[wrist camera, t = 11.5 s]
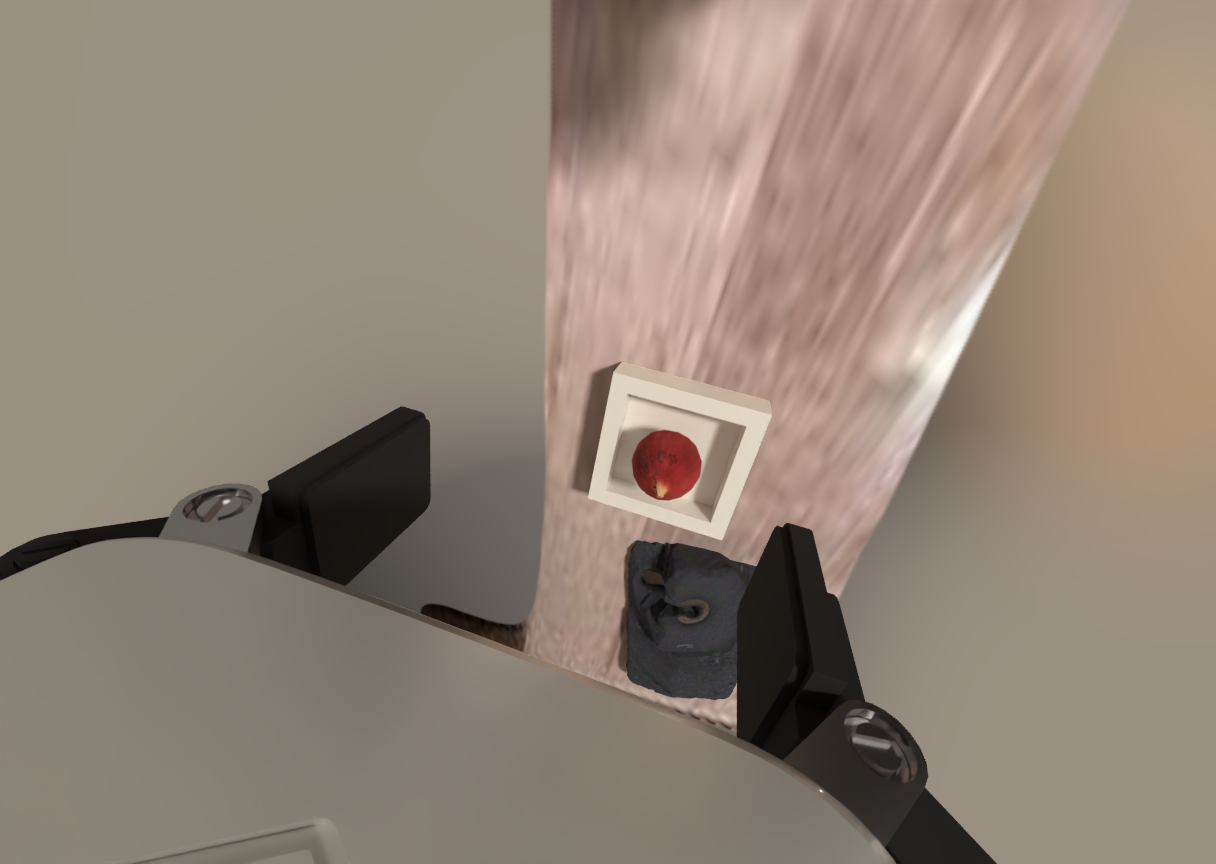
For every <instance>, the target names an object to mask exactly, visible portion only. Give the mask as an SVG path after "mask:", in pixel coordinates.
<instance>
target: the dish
mask: <svg viewBox="0 0 1216 864" xmlns="http://www.w3.org/2000/svg"><path fill="white" fill-rule="evenodd" d="M771 416H772V412H771V406H770V401H769V400H766V399H762V398H758V397H754V396H751V395H747V394H743V393H739V392H736V391H732V390H728V389H724V388H721V387H717V386H713V385H709V384H706V383H702V382H698V381H694V380H690V379H687V378H683V377H679V376H675V375H672V374H668V373H664V372H660V371H657V370H653V369H649V368H645V367H641V366H638V365H634V364H630V363H626V362H623V361H622V362H621V363H620V365H619V366H618V367H617V368H616V370H615V371H614V372H613V377H612V381H611V386H610V391H609V396H608V401H607V406H606V411H605V416H604V421H603V426H602V431H601V436H600V441H599V446H598V451H597V456H596V461H595V466H594V471H593V476H592V481H591V486H590V491H589V496H588V498H589V499H592V500H595V501H598V502H601V503H604V504H608V505H611V506H614V507H617V508H620V509H624V510H627V511H630V512H633V513H636V514H639V515H643V516H646V517H649V518H652V519H655V520H658V521H662V522H665V523H668V524H671V525H674V526H678V527H681V528H684V529H687V530H690V531H693V532H697V533H700V534H703V535H706V536H709V537H712V538H716V539H719V540H722V539H723V537H724V534H725V532H726V529H727V527H728V524H729V522H730V519H731V517H732V514H733V512H734V509H735V507H736V504H737V502H738V499H739V497H740V494H741V492H742V489H743V487H744V484H745V482H746V479H747V477H748V474H749V472H750V469H751V467H752V464H753V462H754V459H755V457H756V454H757V452H758V449H759V447H760V444H761V442H762V439H763V436H764V434H765V431H766V429H767V426H768V424H769V421H770V419H771ZM661 430H669V431H675V432H679V433H681V434H682V435H684V436H686V437H688V438H689V439H690V440H691V441H692V442H693V443H694V444H695V445H696V447H697V449H698V452H699V455H700V458H701V460H702V465H701V474H700V477H699V479H698V481H697V482H696V484H695V485H694V487H693V489H692V490H691V491H689V492H688V493H686V494H685V495H683V496H682V497H681V498H677V499H673V500H669V501H667V500H657V499H655V498H653V497H651V496H649V495H647V494H646V493H645V492H644V491H642V490H641V489H640V488H639V486H638V484H637V482H636V480H635V478H634V476H633V469H632V457H633V454H634V452H635V449H636V447H637V445H638V443H639V442H640V441H641V440H642V439H643V438H645V437H646V436H647V435H649V434H650V433H651V432H656V431H661Z"/></svg>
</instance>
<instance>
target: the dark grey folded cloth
mask: <svg viewBox="0 0 1216 864" xmlns="http://www.w3.org/2000/svg"><path fill="white" fill-rule="evenodd" d="M664 548H665V550H664ZM756 567H757V566H753V565H749V564H745V563H740V562H736V561H732V560H729V559H728V558H727V557H725V556H723V555H722V554H720V553H718V552H715V551H710V550H707V549H703V548H697V547H693V546H688V545H684V544H679V543H676V544H674V545H670V544H668V543H667V544H666V545H665V546H664V545H663V544H660V543H657V542H655V544H650V543H647V542H645V543H643V542H641V541H639V542H637V544H636V545H635V546H634V547H633V548H632V550H631V558H630V560H629V579H628V583H629V587H628V588H629V603H630V605H629V609H630V611H629V612H628V614H627V617H628V621H627V634H628V641H627V643H628V660H627V664H626V667H627V671H628V673H627V676H628V678H629V679H630V681H631V682H633V683H635V684H637V685H641V686H643V687H645V688H647V689H653V690H654V691H655V692H657V693H660V694H663V695H665V696H669V697H680V698H695V697H696V698H706V699H712V700H717V699H725V698H728V697H729V696H730V695H731V693H732V692H733V689H734V687H735V686H736V683H737V612H738V607H739V604H740V601H741V599H742V597H743V595H744V593H745V590H746V588H747V586H748V584H749V582H750V580H751V577H752V575H753V573H754V571H755V569H756ZM646 570H651V571H653V572H658V573H661V576H662V578H661V582H662V584H663V585H656V584H648V583H646V582H645V581H644V579H643V578H642V574H643V573H644V571H646Z"/></svg>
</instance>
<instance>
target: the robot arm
mask: <svg viewBox="0 0 1216 864" xmlns="http://www.w3.org/2000/svg"><path fill="white" fill-rule="evenodd" d="M268 486H269V490H268V491H267V492H265V493H263V494H261V493H260V491H259V490H258V489H257V488H254V487H252V486H250V485H243V484H223V485H218V486H212V487H209V488H205V489H202V490H199V491H197V492H195V493H192V494H190V495H188V496H187V497H185V498H184V499H182V500H181V501H180V502H178V504H177V505H176V506H175V507H174V509H173V510H172V512H171V514H170V516H169V517H164V518H157V519H150V520H144V521H137V522H130V523H124V524H116V525H110V526H103V527H96V528H89V529H83V530H76V531H69V532H63V533H58V534H52V535H47V536H43V537H39V538H36V539H33V540H31V541H29V542H27V543H25V544H23V545H21V546H19V547H16V548H14V549H12V550H10V551H9V552H7V553H6V554H4V555H3V556H1V557H0V864H996V862H995V861H994V860H993V859H992V858H991V857H990V856H989V855H988V854H987V853H986V852H985V851H984V850H983V849H982V848H981V847H980V846H979V845H978V843H976V841H975V840H974V839H973V838H972V837H971V836H970V835H969V834H968V833H967V832H966V831H965V830H964V829H963V827H962V826H961V825H960V824H959V823H958V822H957V821H956V820H955V819H954V818H953V817H952V816H951V815H950V814H949V813H948V812H947V811H946V809H945V808H944V807H943V806H942V805H941V804H940V803H939V802H938V801H937V800H936V799H935V798H934V797H933V796H932V795H931V794H930V793H929V791H928V790H927V789H926V788H925V785H926V782H927V779H928V771H927V764H926V761H925V758H924V756H923V753H922V751H921V749H920V747H919V746H918V744H917V743H916V741H915V740H914V738H913V737H912V735H911V734H910V733H909V732H908V730H907V729H905V727H904V726H903V725H902V724H901V723H900V722H899V721H898V720H897V719H895V718H894V717H893V716H892V715H890V714H889V713H887V712H886V711H885V710H883V709H881V708H880V707H878V706H876V705H874V704H872V703H869V702H865V699H864V695H863V691H862V687H861V684H860V680H859V676H858V673H857V669H856V665H855V661H854V657H853V653H852V650H851V646H850V642H849V638H848V634H847V631H846V627H845V623H844V619H843V615H842V612H841V608H840V604H839V601H838V599H837V597H836V596H835V595H833V594H830V593H827V590H826V586H825V582H824V578H823V573H822V569H821V565H820V561H819V557H818V552H817V548H816V544H815V540H814V536H813V532H812V530H810V529H807V528H803V527H800V526H797V525H793V524H790V523H786V524H785V525H784V526H783V527H779V526H776V527H775V528H774V530H773V532H772V534H771V537H770V539H769V541H768V543H767V545H766V547H765V549H764V552H763V554H762V556H761V558H760V560H759V562H758V565H757V567H756V569H755V571H754V573H753V575H752V577H751V580H750V582H749V584H748V586H747V588H746V590H745V593H744V595H743V597H742V599H741V601H740V604H739V607H738V612H737V737H735V736H733V735H731V734H729V733H727V732H724V731H722V730H720V729H718V728H715V727H713V726H711V725H708V724H706V723H703V722H701V721H698V720H696V719H693V718H691V717H688V716H686V715H683V714H681V713H678V712H676V711H673V710H671V709H668V708H666V707H663V706H661V705H658V704H656V703H653V702H651V701H648V700H646V699H643V698H641V697H638V696H636V695H633V694H631V693H628V692H625V691H623V690H620V689H617V688H615V687H612V686H610V685H607V684H604V683H602V682H599V681H596V680H594V679H591V678H589V677H586V676H583V675H581V674H578V673H575V672H573V671H570V670H568V669H565V668H562V667H560V666H557V665H555V664H552V663H549V662H547V661H544V660H541V659H539V658H536V657H534V656H531V655H528V654H526V653H523V652H520V651H518V650H515V649H512V648H510V647H507V646H504V645H502V644H499V643H496V642H494V641H491V640H488V639H486V638H483V637H480V636H478V635H475V634H472V633H470V632H467V631H464V630H462V629H459V628H456V627H454V626H451V625H448V624H446V623H443V622H440V621H438V620H435V619H432V618H430V617H427V616H424V615H422V614H419V613H416V612H414V611H411V610H408V609H406V608H403V607H400V606H397V605H395V604H392V603H389V602H387V601H384V600H381V599H378V598H376V597H373V596H370V595H367V594H365V593H362V592H359V591H357V590H354V589H351V588H349V587H346V585H347V584H348V583H349V582H350V581H351V580H352V579H353V578H354V577H355V576H356V575H358V574H359V573H360V572H361V571H362V570H363V569H364V568H365V567H366V566H367V565H368V564H369V563H370V562H371V561H372V560H373V559H375V558H376V557H377V556H378V555H379V554H380V553H381V552H382V551H383V550H384V549H385V548H386V547H387V546H388V545H389V544H391V543H392V542H393V541H394V540H395V539H396V538H397V537H398V536H399V535H400V534H401V533H402V532H403V531H404V530H405V529H406V528H408V527H409V526H410V525H411V524H412V523H413V522H414V521H415V520H416V519H417V518H418V517H419V516H420V515H421V514H422V513H423V512H424V511H425V510H426V509H427V507H428V505H429V503H430V423H429V421H428V420H427V419H426V417H425V415H424V413H422V412H419V411H416V410H412V409H409V408H406V407H400V408H397V409H395V410H394V411H392V412H390V413H388V414H387V415H385V416H383V417H381V418H380V419H378V420H376V421H374V422H372V423H371V424H369V425H367V426H365V427H363V428H362V429H360V430H358V431H356V432H354V433H353V434H351V435H349V436H347V437H346V438H344V439H342V440H340V441H339V442H337V443H335V444H333V445H332V446H330V447H328V448H326V449H324V450H323V451H321V452H319V453H317V454H316V455H314V456H312V457H310V458H309V459H307V460H305V461H303V462H301V463H299V464H298V465H296V466H294V467H292V468H290V469H289V470H287V471H285V472H283V473H282V474H280V475H278V476H276V477H274V478H273V479H271V480H269V481H268Z"/></svg>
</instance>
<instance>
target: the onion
mask: <svg viewBox="0 0 1216 864" xmlns="http://www.w3.org/2000/svg"><path fill="white" fill-rule="evenodd" d="M701 465H702V460H701V458H700V455H699V452H698V449H697V447H696V445H695V444H694V443H693V442H692V441H691V440H690V439H689V438H688V437H686V436H684V435H682V434H681V433H679V432H675V431H669V430H661V431H656V432H651V433H650V434H649V435H647V436H646V437H645V438H643V439H642V440H641V441H640V442H639V443H638V445H637V447H636V449H635V452H634V454H633V457H632V469H633V476H634V478H635V480H636V482H637V484H638V486H639V488H640V489H641V490H642V491H644V492H645V493H646V494H647V495H649V496H651V497H653V498H655V499H657V500H667V501H669V500H673V499H677V498H681V497H682V496H683V495H685V494H686V493H688V492H689V491H691V490H692V489H693V487H694V485H695V484H696V482H697V481H698V479H699V477H700V474H701Z"/></svg>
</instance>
